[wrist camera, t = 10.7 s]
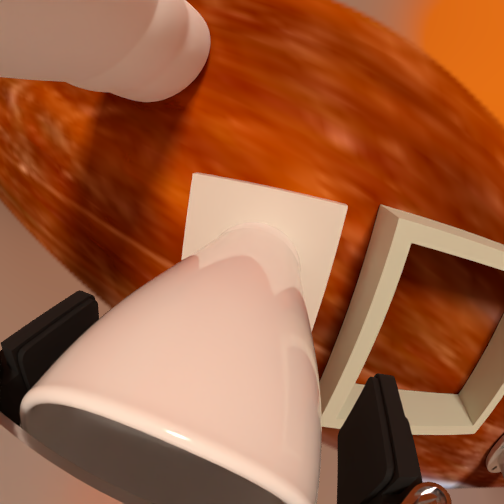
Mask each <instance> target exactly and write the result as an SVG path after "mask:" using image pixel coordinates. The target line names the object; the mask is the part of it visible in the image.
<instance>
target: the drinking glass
mask: <svg viewBox="0 0 504 504" xmlns="http://www.w3.org/2000/svg"><path fill="white" fill-rule="evenodd" d="M20 421H21V425H22V428H23V430H25V431H26V432H27V433H29V434H30V435H31V436H33V437H34V438H35V439H37V440H38V441H40V442H41V443H43V444H44V445H45V446H47V447H48V448H50V449H51V450H53V451H54V452H56V453H58V454H59V455H61V456H62V457H64V458H65V459H67V460H69V461H70V462H72V463H74V464H75V465H77V466H79V467H81V468H82V469H84V470H86V471H88V472H89V473H91V474H93V475H95V476H97V477H99V478H100V479H102V480H104V481H106V482H108V483H110V484H112V485H114V486H116V487H118V488H120V489H123V490H125V491H127V492H129V493H131V494H134V495H136V496H138V497H140V498H143V499H145V500H148V501H150V502H152V503H155V504H317V496H318V487H319V477H320V463H321V440H322V414H321V395H320V383H319V375H318V368H317V361H316V355H315V349H314V343H313V338H312V332H311V327H310V322H309V317H308V312H307V306H306V301H305V296H304V291H303V285H302V280H301V264H300V258H299V255H298V252H297V249H296V247H295V246H294V244H293V243H292V241H291V240H290V239H289V237H288V236H287V235H286V234H284V233H283V232H282V231H281V230H279V229H278V228H276V227H274V226H272V225H269V224H266V223H262V222H244V223H239V224H236V225H234V226H232V227H230V228H228V229H226V230H225V231H224V232H222V233H221V234H220V235H219V236H218V237H217V238H216V239H215V240H213V241H212V242H210V243H208V244H207V245H205V246H204V247H202V248H201V249H199V250H198V251H196V252H194V253H193V254H191V255H190V256H188V257H186V258H185V259H183V260H182V261H180V262H179V263H177V264H175V265H174V266H172V267H171V268H169V269H167V270H166V271H164V272H163V273H161V274H160V275H158V276H156V277H155V278H153V279H152V280H150V281H149V282H147V283H146V284H144V285H143V286H141V287H140V288H138V289H137V290H135V291H134V292H133V293H131V294H130V295H129V296H127V297H126V298H125V299H123V300H122V301H121V302H119V303H118V304H117V305H115V306H114V307H113V308H112V309H110V310H109V311H108V312H107V313H105V314H104V315H103V316H102V317H101V318H100V319H98V320H97V321H96V322H95V323H94V324H93V325H92V326H91V327H89V328H88V329H87V330H86V331H85V332H84V333H83V334H82V335H81V336H80V337H79V338H78V339H77V340H76V341H75V342H74V343H73V344H72V345H71V346H70V347H69V348H68V349H67V350H66V351H65V352H64V353H63V354H62V355H61V356H60V357H59V358H58V359H57V360H56V361H55V362H54V363H53V364H52V366H51V367H50V368H49V369H48V370H47V371H46V372H45V373H44V374H43V376H42V377H41V378H40V379H39V380H38V381H37V382H36V383H35V385H34V386H33V387H32V388H31V389H30V390H29V391H28V392H27V393H26V394H25V396H24V397H23V399H22V401H21V404H20Z"/></svg>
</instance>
